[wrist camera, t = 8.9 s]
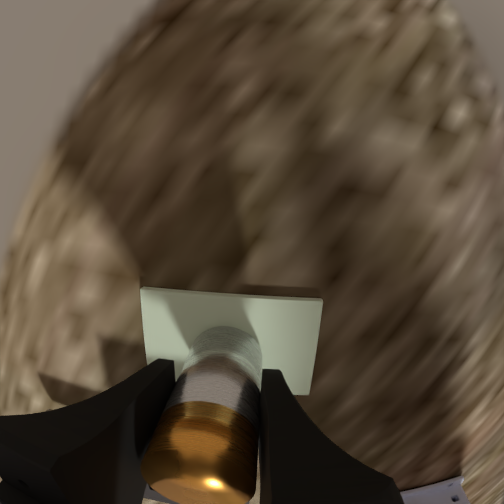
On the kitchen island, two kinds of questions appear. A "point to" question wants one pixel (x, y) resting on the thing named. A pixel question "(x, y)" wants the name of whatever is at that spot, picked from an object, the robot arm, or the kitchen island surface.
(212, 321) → the mat
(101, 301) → the kitchen island surface
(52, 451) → the robot arm
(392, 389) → the kitchen island surface
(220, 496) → the metal cylinder
